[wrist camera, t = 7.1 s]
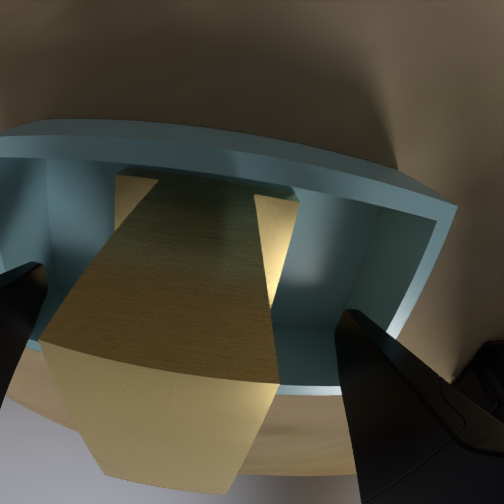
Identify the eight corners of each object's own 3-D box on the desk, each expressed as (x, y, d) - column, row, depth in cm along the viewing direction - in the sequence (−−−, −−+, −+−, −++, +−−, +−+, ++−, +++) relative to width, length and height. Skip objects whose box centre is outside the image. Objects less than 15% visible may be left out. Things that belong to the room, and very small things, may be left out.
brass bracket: (295, 193, 11) (387, 384, 4) (265, 306, 13) (285, 495, 6) (126, 167, 10) (-35, 311, 3) (124, 285, 12) (52, 457, 5)
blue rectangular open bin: (398, 170, 11) (458, 205, 7) (338, 331, 15) (360, 394, 11) (43, 119, 9) (-23, 138, 6) (56, 290, 13) (19, 344, 9)
